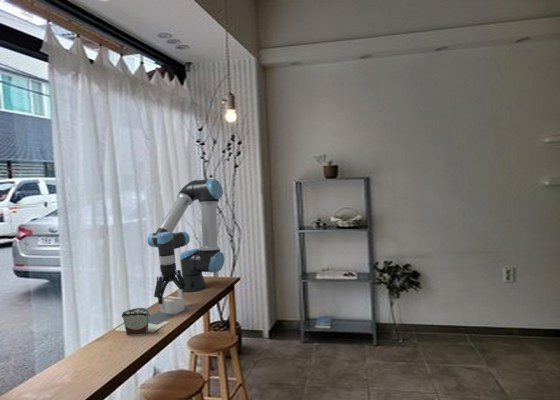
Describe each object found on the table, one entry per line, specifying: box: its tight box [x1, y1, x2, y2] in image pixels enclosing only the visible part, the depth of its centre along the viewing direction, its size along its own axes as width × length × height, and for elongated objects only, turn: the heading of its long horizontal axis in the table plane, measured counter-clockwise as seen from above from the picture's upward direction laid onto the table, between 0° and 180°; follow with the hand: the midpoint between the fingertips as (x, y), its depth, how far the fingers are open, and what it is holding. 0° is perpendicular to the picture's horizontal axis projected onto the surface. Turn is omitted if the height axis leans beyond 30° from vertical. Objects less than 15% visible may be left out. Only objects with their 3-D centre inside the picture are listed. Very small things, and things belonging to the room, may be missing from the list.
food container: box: [121, 307, 151, 336], centre depth 173 cm, size 12×6×10 cm, turn 84°
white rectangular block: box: [160, 295, 185, 314], centre depth 196 cm, size 10×6×6 cm, turn 60°
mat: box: [148, 305, 193, 325], centre depth 193 cm, size 24×13×1 cm, turn 150°
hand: (172, 305), depth 196 cm, fingers open, 12 cm apart
